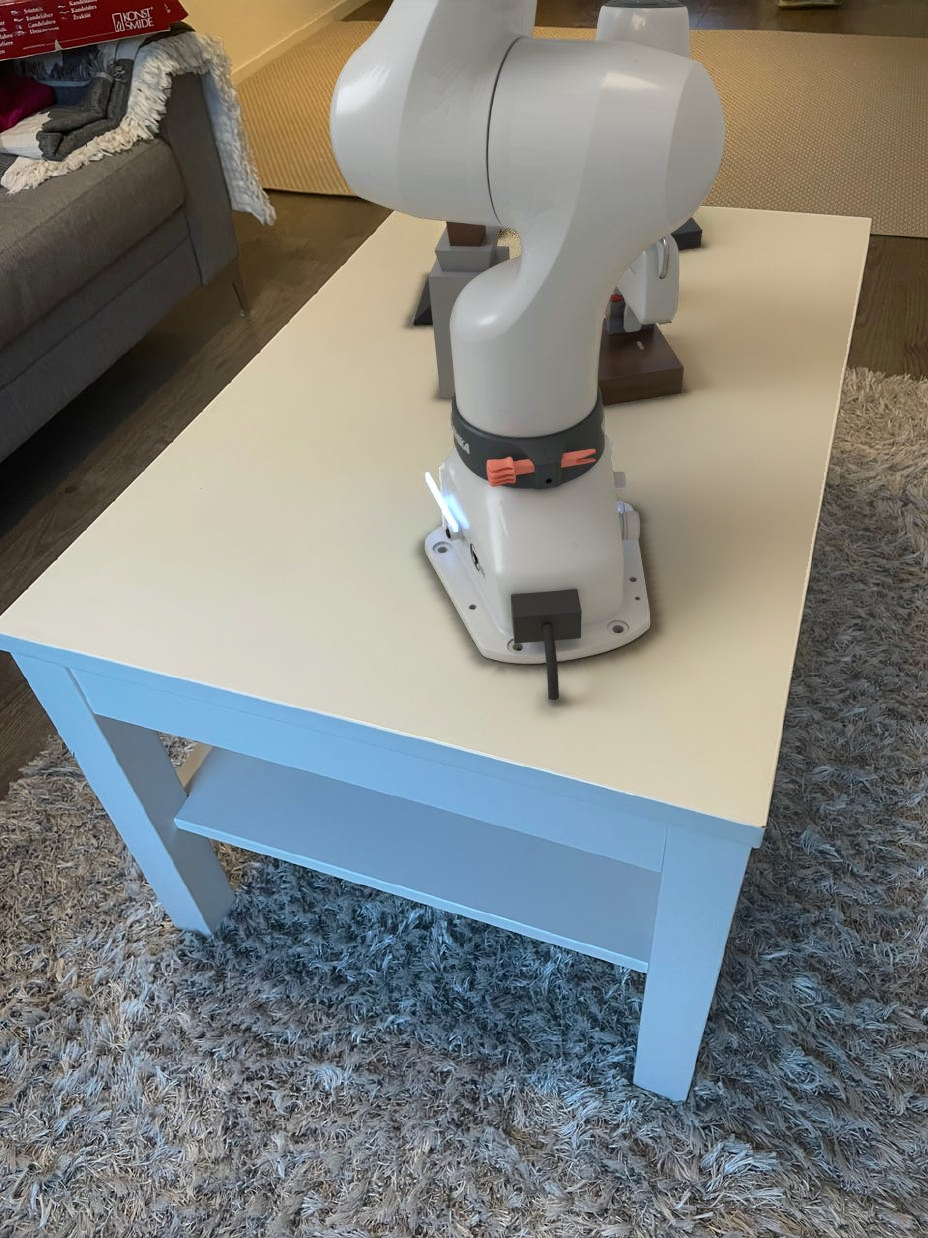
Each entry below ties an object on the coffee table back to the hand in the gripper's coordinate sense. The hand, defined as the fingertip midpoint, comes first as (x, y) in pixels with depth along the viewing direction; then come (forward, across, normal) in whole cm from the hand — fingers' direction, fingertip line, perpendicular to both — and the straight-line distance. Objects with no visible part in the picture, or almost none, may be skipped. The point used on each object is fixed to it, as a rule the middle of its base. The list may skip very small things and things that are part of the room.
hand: (626, 321), depth 103 cm
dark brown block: (+4, -2, +1) cm, 5 cm away
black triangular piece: (+4, +18, +16) cm, 25 cm away
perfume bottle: (+4, -1, +17) cm, 17 cm away
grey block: (+1, 0, 0) cm, 1 cm away
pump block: (+4, +28, -12) cm, 30 cm away
